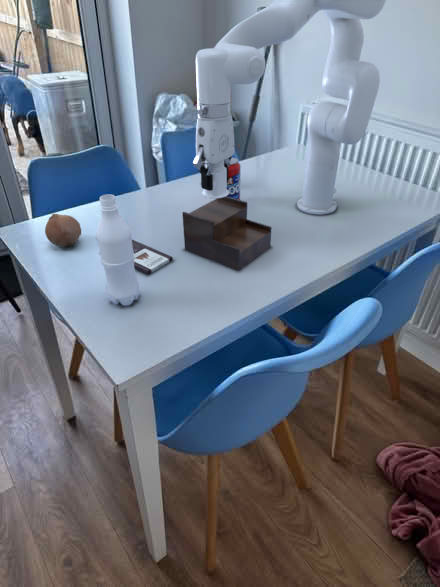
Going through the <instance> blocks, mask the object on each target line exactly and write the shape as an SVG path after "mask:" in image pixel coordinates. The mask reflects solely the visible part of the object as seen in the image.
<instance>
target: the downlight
mask: <svg viewBox="0 0 440 587" xmlns="http://www.w3.org/2000/svg"><path fill="white" fill-rule="evenodd" d="M207 166H208V164H206V168H207ZM211 175H212V176H213V190H211V191H209V190H206V189H203V190H202V191H201V195H202V196H203V197H205V198H208V199H213V200H215V199H217V198H223V197H226V196H227V195H228V194H229V191H228V190H227V169H226V167H224V160H223V161H221V162H218V163H216V164H213V165H212V170H211Z"/></svg>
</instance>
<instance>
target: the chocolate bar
mask: <svg viewBox="0 0 440 587" xmlns="http://www.w3.org/2000/svg"><path fill="white" fill-rule="evenodd" d="M132 246H133V252H134V255H135V258H134V270H136V271H139V272H141V273H143V274H145V275H147V276H148V275H149V274H152V273H153V272H155V271H157V270H158V269H160V268H162V267H164V266H165V265H167V264H169V263H170V262H172V261H173V256H172V255H169V254H166V253H165V252H162V251H159V250H157V249H155V248H153V247H151V246H148V245H146V244H143V243H141V242H139V241H136V240H135V239H132Z"/></svg>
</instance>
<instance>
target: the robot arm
mask: <svg viewBox="0 0 440 587" xmlns="http://www.w3.org/2000/svg"><path fill="white" fill-rule="evenodd" d="M385 5H386V0H274V1H272V3H270V4H269V5H268V6H266V7H264V8H262V9H260V10H259V11H257V12H256V13H254V14H252V15H251V16H249V17H247V18H245V19H244V20H242V21H240V22H238V24H236V25H234V26H233V27H232V28H231V29H230V30H229V31H228V32H227V33H226V34H225V35H224V36H223V37H222V38H221V39H220V40H219V41H218V42H217V43H216V44H215V46H214V47H211V48H202V49H200V50H198V51H197V52H196V54H195V74H196V75H195V76H196V99H197V100H196V101H197V102H196V103H197V111H196V112H197V120H196V126H195V127H196V129H195V156H194V159H193V162H192V166H193V167H194V168H195V169H196V170H197V171H198V174H200V182H201V184H200V186H201V189H203V190H204V189H206V190H209V191H211V190H213V176H212V175H211V170H212V165H213V164H216V163H218V162H221V161H223V160H224V167H226V169H227V182H229V166H230V160H231V158H233V155H235V150H236V147H235V129H234V121H233V116H232V114H231V85H251V84H254V83H256V82H258V81H259V80H260V79H261V78H262V77H263V75H264V73H265V72H266V59H265V58H266V57H265V56H264V54H263V53H262V52H261V51H260V49H262V48H265V47H266V48H267V47H269V46H274V45H278V44H281V43H285V42H287V41H288V40H291V39H293V38H294V37H295V36H296V35H297V34H298V32H300V31H301V29H303V28H304V27H305V25H306V24H307V23H309V21H310V20H311V19H313V17H314V16H315V15H316V14H317V13H318V12H320V11H323V13H324V15H325V18H326V19H327V21H328V25H329V28H330V29H329V30H330V41H329V42H330V43H329V47H328V53H327V56H326V61H325V65H324V70H323V73H322V79H321V90H322V92H323V93H324V94H325V95H326V96H329V97H333V98H336V99H341V100H345V101H348V102H347V105H345V104H343V103H338V102H337V103H336V102H334V101H333V102H332V101H321V102H317V103H316V104H314V105H313V106H311V108H310V110H309V111H308V114H307V118H306V119H307V120H306V127H307V154H306V162H305V172H304V182H303V188H302V197H301V198H299V199H298V200H297V202H296V207H297V209H298V210H300V211H301V212H303V213H306V214H309V215H319V216H320V215H321V216H323V215H328V214H332V213H334V212H335V211H336V210H337V207H338V206H337V202H336V201H335V200H334V194H336V193H337V189H336V188H335V187H336V180H337V173H338V166H339V160H340V155H341V154H340V152H341V151H340V145H339V143H340V144H344V145H349V146H350V145H351V146H352V145H355V144H358V143H359V142H360V141H361V140H362V139H363V137H364V135H365V134H366V132H367V129H368V127H369V123H370V119H371V116H372V113H373V110H374V106H375V103H376V102H375V101H376V98H377V95H378V92H379V89H380V82H381V79H380V78H381V77H380V71H379V68H378V67H377V66H376V65H375V64H374V63H371V62H369V61H361V60H360V59H361V54H362V50H363V45H364V41H365V40H364V38H365V36H364V34H365V33H364V29H363V28H364V27H363V26H362V21H361V20H371V19H373V18H375V17H377V16H378V15H379V14H380V13H381V12H382V11H383V8H384V6H385ZM205 164H208V166H207V168H206V167H205Z"/></svg>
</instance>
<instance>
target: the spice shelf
mask: <svg viewBox="0 0 440 587" xmlns="http://www.w3.org/2000/svg"><path fill="white" fill-rule="evenodd" d="M181 214H182V226H183V227H182V228H183V241H184V251H187V252H188V253H191V254H194V255H197V256H199V257H202V258H204V259H207V260H209V261H212V262H214V263H217V264H218V265H222V266H224V267H227V268H229V269H232V270H235V271H237V272H239V271H240V270H242V269H243V268H244V267H246V266H247V265H248V264H250V263H251V262H252V261H254V260H255V259H256V258H258V257H259V256H260V255H262V254H263V253H264V252H266V251H267V250H269V249H270V248H271V241H272V228H273V227H272V226H270V225H266V224H263V223H260V222H258V221H254V220H251V219H248V201H244V200H241V199H240V200H238V199H234V198H231V197H227V196H226V197H223V198H217V199H213V200H212V201H209V202H208V203H205V204H204V205H201V206H200V207H198V208H196V209H194V210H193V211H190V212H186V211H182V213H181Z"/></svg>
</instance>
